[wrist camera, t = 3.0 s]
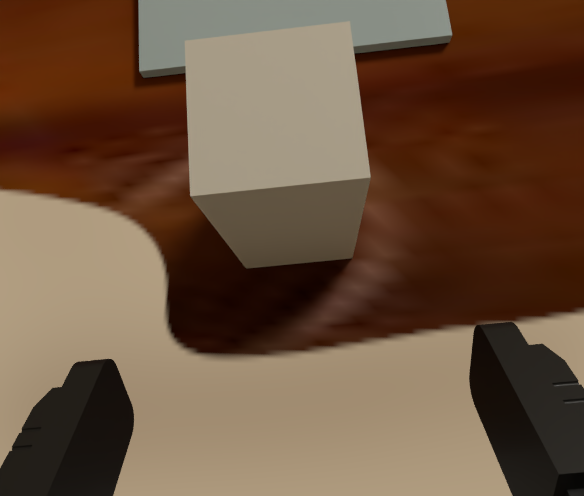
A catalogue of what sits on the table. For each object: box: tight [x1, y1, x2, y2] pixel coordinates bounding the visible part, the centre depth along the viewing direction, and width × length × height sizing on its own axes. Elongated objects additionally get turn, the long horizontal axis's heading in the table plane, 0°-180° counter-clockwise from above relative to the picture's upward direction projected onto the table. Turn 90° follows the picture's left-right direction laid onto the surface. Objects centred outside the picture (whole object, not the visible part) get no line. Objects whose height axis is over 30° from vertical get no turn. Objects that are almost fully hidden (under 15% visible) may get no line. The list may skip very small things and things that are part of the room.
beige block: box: [185, 21, 371, 269], centre depth 19 cm, size 5×5×10 cm
